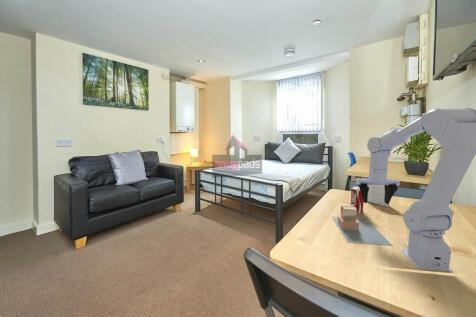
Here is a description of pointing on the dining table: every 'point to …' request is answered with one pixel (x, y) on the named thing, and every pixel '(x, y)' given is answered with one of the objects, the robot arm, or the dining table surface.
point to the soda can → (357, 199)
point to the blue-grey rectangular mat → (363, 233)
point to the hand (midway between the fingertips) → (375, 202)
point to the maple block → (348, 213)
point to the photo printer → (377, 195)
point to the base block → (348, 224)
